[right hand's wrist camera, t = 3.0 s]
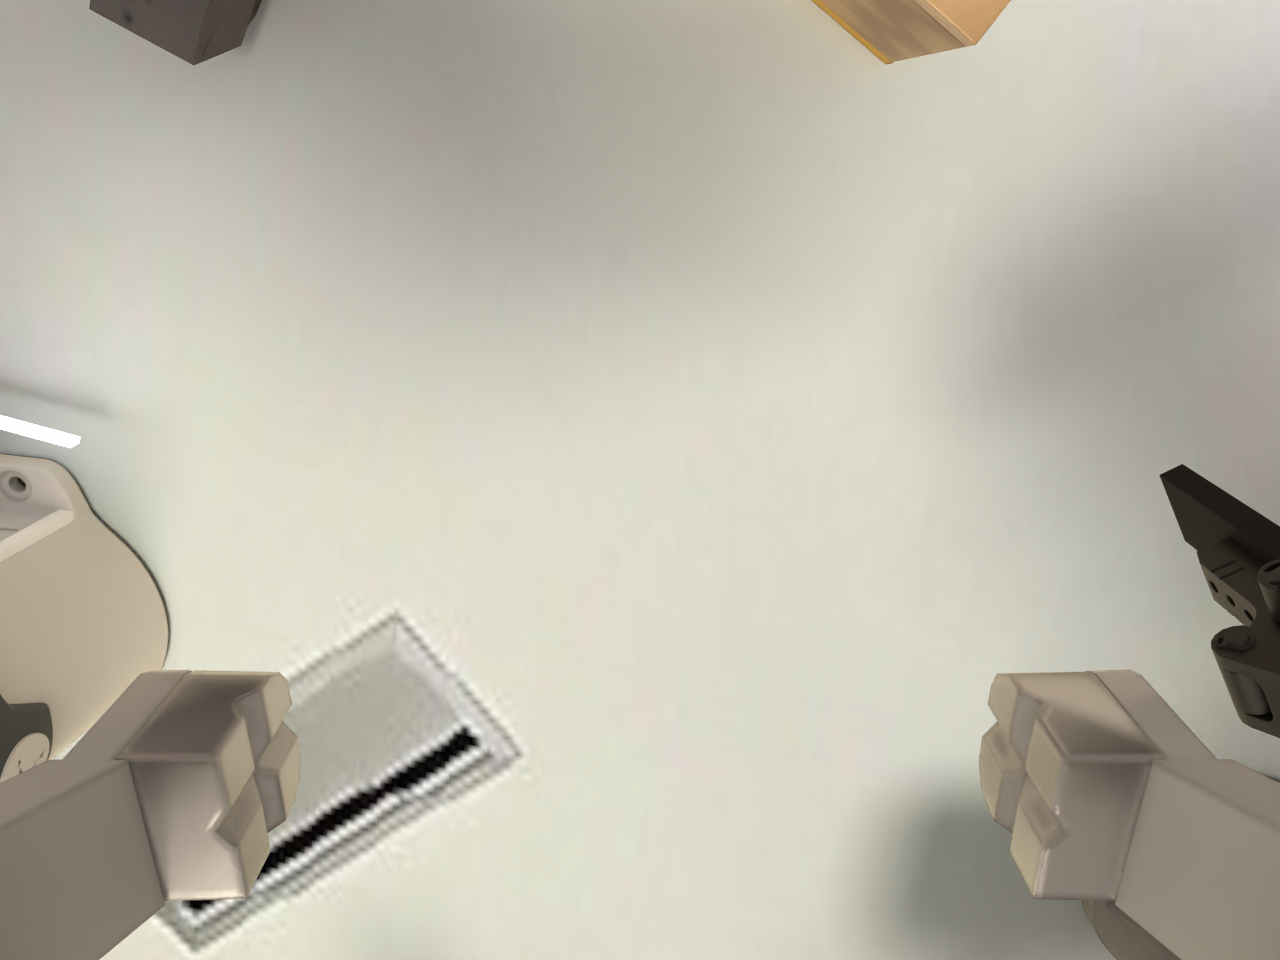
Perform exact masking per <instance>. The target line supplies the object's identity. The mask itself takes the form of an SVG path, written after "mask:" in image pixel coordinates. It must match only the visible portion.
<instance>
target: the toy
mask: <svg viewBox="0 0 1280 960" xmlns="http://www.w3.org/2000/svg"><path fill="white" fill-rule="evenodd" d="M260 3H261V0H90V8H89V9H90V10H92V11H94V12H96V13H98V14H100V15H102V16H103V17H105V18H107V19H109V20H111V21H113V22H115V23H116V24H118V25H120V26H122V27H124V28H126V29H128V30H129V31H131V32H133V33H135V34H137V35H139V36H141V37H142V38H144V39H146V40H148V41H150V42H152V43H154V44H155V45H157V46H159V47H161V48H163V49H165V50H167V51H168V52H170V53H172V54H174V55H176V56H178V57H180V58H181V59H183V60H185V61H187V62H189V63H191V64H192V65H195V64H198V63H200V62H203V61H205V60H208V59H210V58H212V57H215V56H217V55H220V54H222V53H224V52H227V51H229V50H231V49H234V48H236V47H239V46H241V44H242V41H243V38H244V35H245V32H246V29H247V26H248V24H249V23H250V22H251V21H252V19H253V18H254V16H255V15H256V12H257V10H258V8H259V5H260Z"/></svg>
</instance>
